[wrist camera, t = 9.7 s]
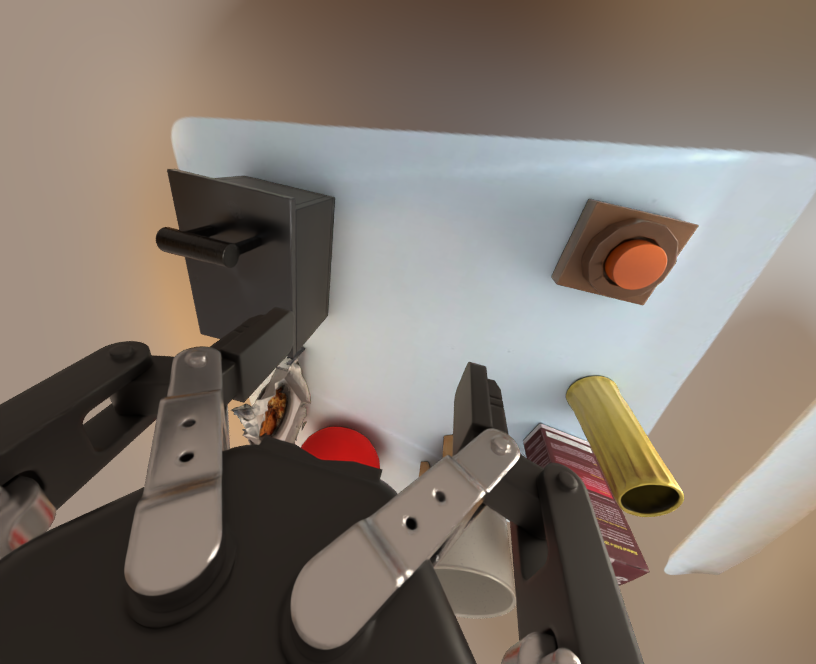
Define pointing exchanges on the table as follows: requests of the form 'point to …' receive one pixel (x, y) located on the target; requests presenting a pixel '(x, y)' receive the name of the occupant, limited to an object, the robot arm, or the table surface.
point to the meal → (277, 406)
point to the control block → (603, 234)
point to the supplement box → (591, 495)
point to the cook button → (635, 264)
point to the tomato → (341, 446)
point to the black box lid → (233, 250)
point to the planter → (478, 564)
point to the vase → (623, 449)
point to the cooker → (306, 252)
